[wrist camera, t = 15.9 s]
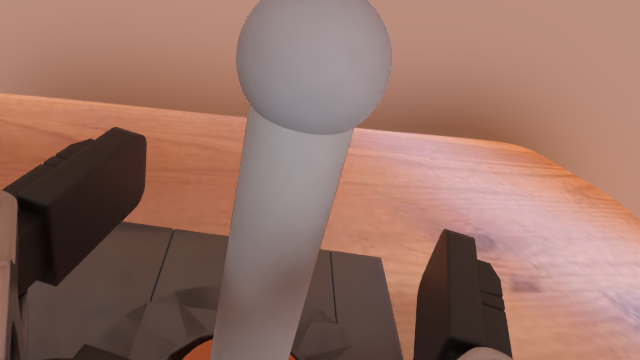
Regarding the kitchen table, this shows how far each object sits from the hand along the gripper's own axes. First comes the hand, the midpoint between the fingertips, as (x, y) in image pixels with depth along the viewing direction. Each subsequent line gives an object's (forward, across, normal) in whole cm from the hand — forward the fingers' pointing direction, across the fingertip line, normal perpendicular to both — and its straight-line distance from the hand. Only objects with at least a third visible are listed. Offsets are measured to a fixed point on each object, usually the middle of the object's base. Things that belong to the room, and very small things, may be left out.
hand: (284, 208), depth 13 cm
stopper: (-1, 0, +9) cm, 9 cm away
